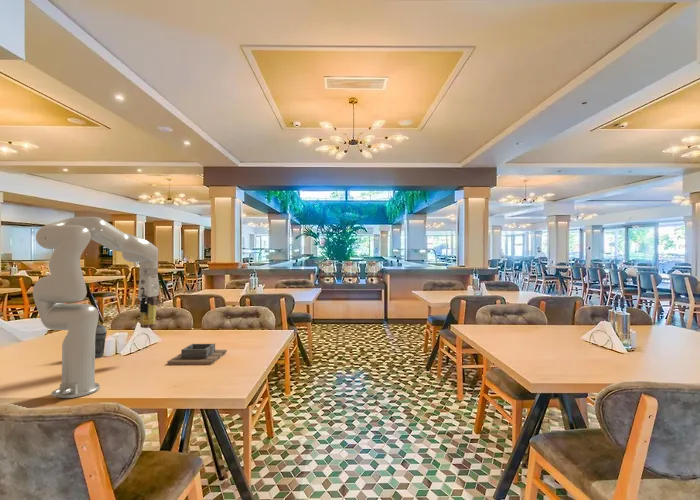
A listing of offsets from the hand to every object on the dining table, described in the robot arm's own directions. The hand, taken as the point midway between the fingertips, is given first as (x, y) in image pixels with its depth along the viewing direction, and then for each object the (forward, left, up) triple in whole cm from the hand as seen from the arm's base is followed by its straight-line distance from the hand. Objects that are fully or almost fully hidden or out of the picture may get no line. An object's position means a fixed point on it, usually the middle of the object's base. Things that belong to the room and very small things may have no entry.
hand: (148, 310), depth 167 cm
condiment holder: (+4, -22, -23) cm, 32 cm away
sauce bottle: (0, 0, -8) cm, 8 cm away
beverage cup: (+7, +28, -24) cm, 37 cm away
